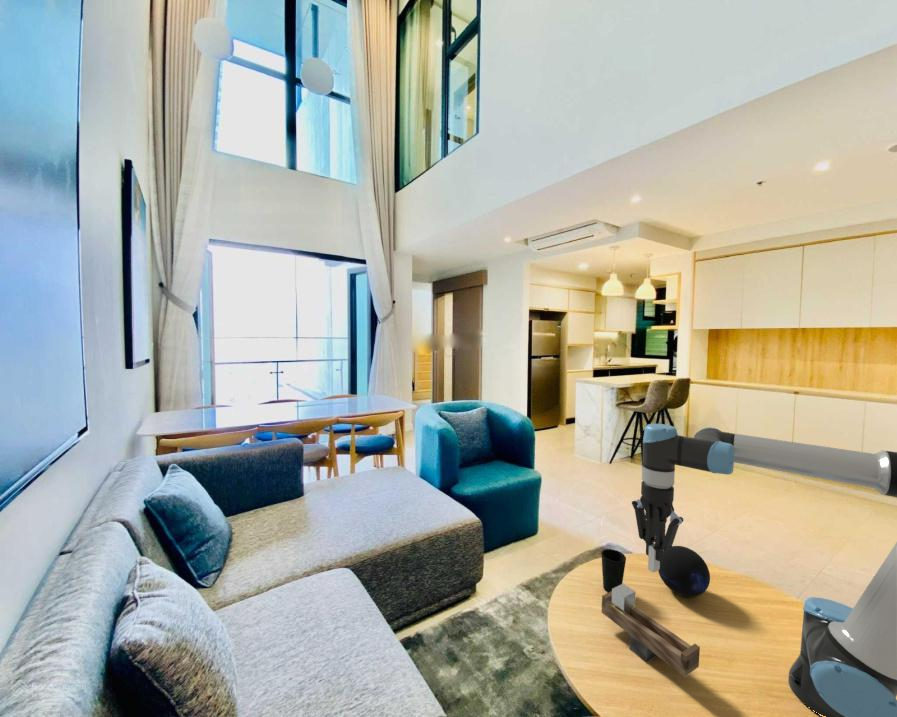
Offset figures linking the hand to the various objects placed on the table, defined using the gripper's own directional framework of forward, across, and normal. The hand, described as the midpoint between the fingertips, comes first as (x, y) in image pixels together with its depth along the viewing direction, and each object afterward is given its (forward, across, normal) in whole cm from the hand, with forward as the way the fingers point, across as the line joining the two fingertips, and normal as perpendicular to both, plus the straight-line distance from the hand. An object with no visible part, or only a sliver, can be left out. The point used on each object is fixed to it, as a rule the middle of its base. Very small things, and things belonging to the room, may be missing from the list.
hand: (653, 569), depth 100 cm
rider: (+18, +8, 0) cm, 20 cm away
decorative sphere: (+24, +10, -34) cm, 43 cm away
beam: (+24, +1, 0) cm, 24 cm away
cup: (+24, +22, -14) cm, 36 cm away
